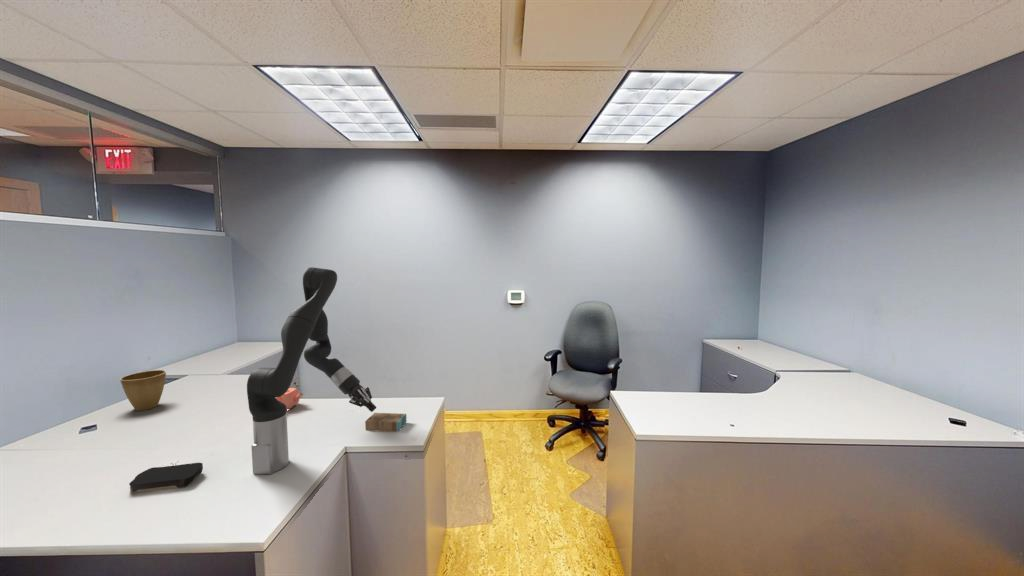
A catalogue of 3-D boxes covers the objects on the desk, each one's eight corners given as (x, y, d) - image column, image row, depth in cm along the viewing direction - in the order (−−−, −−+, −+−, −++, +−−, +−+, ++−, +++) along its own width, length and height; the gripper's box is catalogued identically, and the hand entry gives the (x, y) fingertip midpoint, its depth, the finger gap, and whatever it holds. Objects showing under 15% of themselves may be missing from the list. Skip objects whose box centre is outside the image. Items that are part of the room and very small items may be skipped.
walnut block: (365, 430, 141) (398, 431, 140) (365, 421, 141) (398, 422, 139) (375, 421, 149) (406, 422, 148) (374, 412, 149) (406, 413, 147)
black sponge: (207, 472, 113) (206, 461, 113) (188, 488, 105) (188, 476, 104) (147, 479, 110) (146, 467, 109) (123, 496, 101) (122, 484, 101)
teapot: (303, 408, 163) (303, 388, 163) (273, 415, 155) (272, 394, 155) (298, 401, 172) (297, 382, 171) (269, 407, 164) (268, 387, 163)
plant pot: (137, 403, 169) (135, 371, 168) (175, 400, 174) (173, 368, 173) (113, 416, 155) (110, 381, 154) (155, 411, 160) (152, 377, 159)
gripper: (342, 379, 138) (372, 410, 137) (359, 369, 151) (387, 397, 150) (329, 392, 138) (360, 423, 138) (348, 381, 151) (375, 409, 151)
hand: (374, 409), depth 144 cm, fingers closed
